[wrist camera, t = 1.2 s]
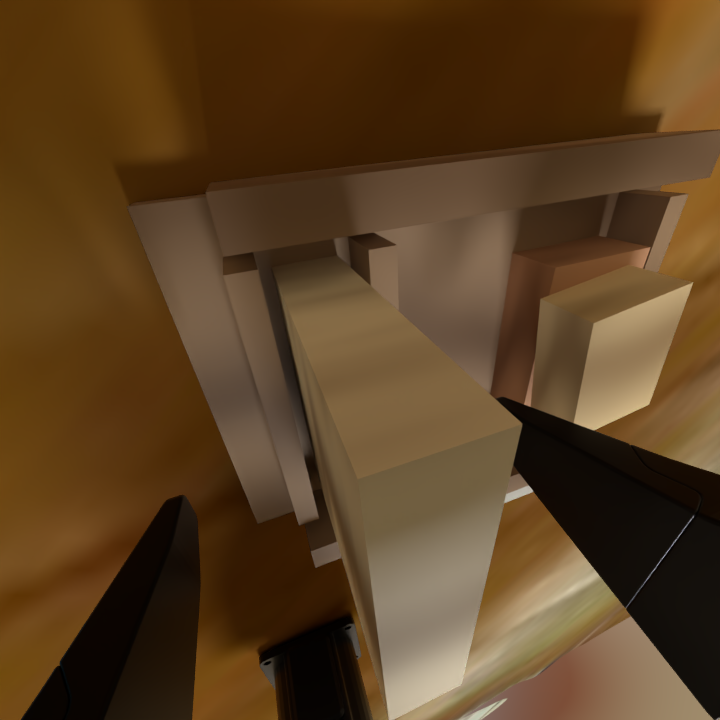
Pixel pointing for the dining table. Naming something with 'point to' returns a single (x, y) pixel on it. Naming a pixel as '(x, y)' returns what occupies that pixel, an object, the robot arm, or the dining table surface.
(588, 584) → the dining table surface
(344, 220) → the rack
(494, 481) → the block
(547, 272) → the offcut low
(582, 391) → the offcut top
